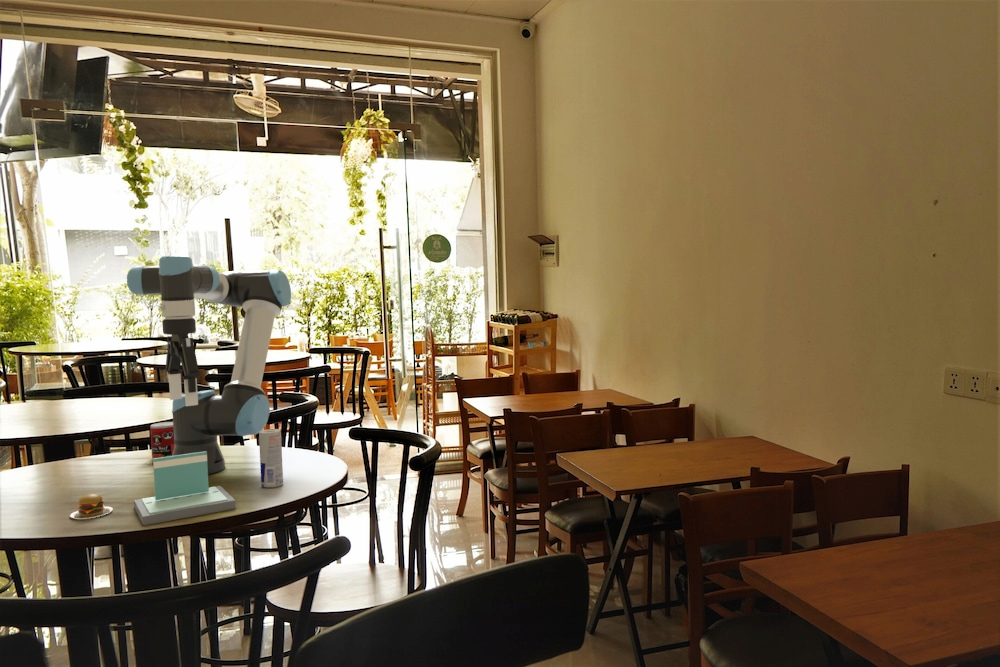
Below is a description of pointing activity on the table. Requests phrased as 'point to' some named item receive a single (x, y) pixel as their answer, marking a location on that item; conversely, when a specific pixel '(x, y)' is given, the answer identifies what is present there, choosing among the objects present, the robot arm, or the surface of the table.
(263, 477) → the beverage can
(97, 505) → the hamburger
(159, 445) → the canned food
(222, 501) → the board
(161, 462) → the stub
